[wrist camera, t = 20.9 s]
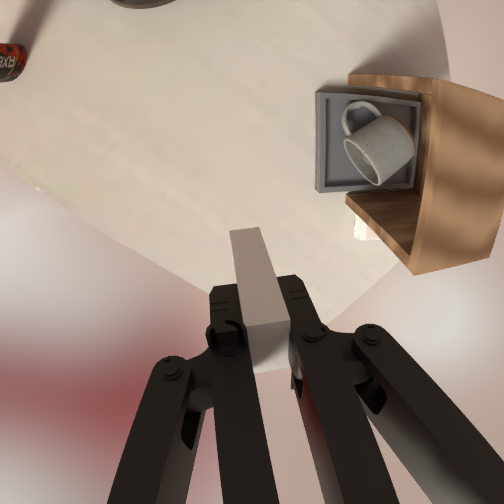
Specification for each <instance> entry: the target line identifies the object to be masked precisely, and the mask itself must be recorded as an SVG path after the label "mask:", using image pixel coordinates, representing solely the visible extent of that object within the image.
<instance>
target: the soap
mask: <svg viewBox="0 0 504 504" xmlns="http://www.w3.org/2000/svg"><path fill="white" fill-rule="evenodd" d="M355 218H356V221H355V225H354V237H355V238H356V239H360V240H379V239H380V238H379V237H378V236H377V235H376V234H375V232H374V231H373V230H372V229H371V228H370V227H369V226H368V225H367V224H366V223H365V222H364V221H363V220H362V219H361V218H360V217H359V216H358V215H357V214H355Z"/></svg>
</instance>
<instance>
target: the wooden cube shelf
mask: <svg viewBox="0 0 504 504" xmlns="http://www.w3.org/2000/svg"><path fill="white" fill-rule="evenodd" d="M348 85H360V86H370V87H379V88H388V89H395V90H402V91H408V92H414V93H419V102H420V103H421V109H420V127H419V140H418V151H417V161H416V169H415V177H414V184H413V188H411V190H409V191H389V192H372V193H357V194H346V200H345V203H346V204H347V205H348V206H349V207H350V208H351V209H352V210H353V211H354V212H355V213H356V214H357V215H358V216H359V217H360V218H361V219H362V220H363V221H364V222H365V223H366V224H367V225H368V226H369V227H370V228H371V229H372V230H373V231H374V232H375V234H376V235H377V236H378V237H379V238H380V239H381V240H382V241H383V242H384V243H385V244H386V245H387V246H388V247H389V248H390V249H391V251H392V252H393V253H394V254H395V255H396V256H397V257H398V258H399V259H400V260H401V261H402V262H403V264H404V265H405V266H406V267H407V268H408V269H409V270H410V272H411V273H412V274H413V275H414V276H415V275H420V274H424V273H428V272H433V271H437V270H441V269H446V268H450V267H454V266H458V265H462V264H466V263H470V262H474V261H478V260H482V259H485V258H489V256H490V253H491V251H492V248H493V244H494V242H495V238H496V235H497V231H498V229H499V225H500V222H501V218H502V214H503V210H504V100H502V99H500V98H497V97H494V96H492V95H489V94H486V93H483V92H480V91H478V90H475V89H472V88H468V87H465V86H462V85H458V84H455V83H452V82H448V81H444V80H439V79H430V78H421V77H409V76H394V75H348Z"/></svg>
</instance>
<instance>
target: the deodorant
mask: <svg viewBox="0 0 504 504" xmlns="http://www.w3.org/2000/svg"><path fill="white" fill-rule="evenodd" d="M26 61H27V52H26V50H25V48H24V47H23V46H22V45H18V44H3V43H0V82H8V81H12V80H14V79H16V78H17V77H18V76H19V75H20V74H21V73H22V71H23V69H24V67H25V65H26Z"/></svg>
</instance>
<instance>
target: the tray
mask: <svg viewBox="0 0 504 504" xmlns="http://www.w3.org/2000/svg"><path fill="white" fill-rule="evenodd" d="M356 101H365V102H369V103H371V104H372V105H374V106H375V107H376V108H377V109H378V110H379V111H380V113H381V115H382V116H385V115H390V116H394V117H396V118H398V119H399V120H400V121H402V122H403V123H404V124H405V125H406V127H407V128H408V129H409V131H410V132H411V134H412V136H413V138H414V141H415V144H416V151H415V154H414V155H413V157H412V158H411V159H410V160H409V161H408V162H407V163H406V164H405V165H403V166H402V167H401V168H400V169H399V170H397V171H396V172H395V173H394V174H393V175H392V176H390V177H389V178H388V179H387V180H385V181H384V182H383V183H382V184H381V185H378V186H376V185H374V184H372V183H371V182H369V181H368V180H367V179H366V178H365V177H363V176H362V174H361V173H360V172H359V171H358V170H357V168H356V167H355V166H354V164H353V163H352V161H351V160H350V158H349V156H348V154H347V152H346V150H345V148H344V139H345V138H346V137H347V135H346V133H345V131H344V129H343V126H342V121H341V118H342V113H343V111H344V109H345V108H346V107H347V106H348V105H349V104H351V103H353V102H356ZM315 109H316V169H315V189H316V190H317V191H318V192H319V193H327V192H342V191H359V190H378V189H404V188H413V184H414V177H415V169H416V161H417V151H418V140H419V127H420V109H421V103H420V102H416V101H410V100H403V99H396V98H389V97H380V96H371V95H360V94H347V93H329V92H315ZM376 119H377V117H376V115H375V114H374V113H373V112H372V111H371V110H369V109H368V108H366V107H364V106H361V107H360V108H355V109H353V110H351V111H349V112H347V118H346V120H347V124H348V127H349V130H350V132H351V133H354V132H356V131H358V130H359V129H361V128H363V127H365V126H366V125H368V124H369V123H371V122H372V121H374V120H376Z"/></svg>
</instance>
